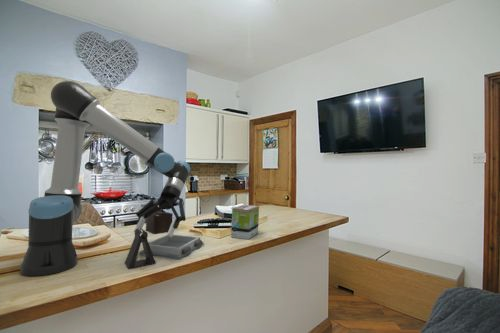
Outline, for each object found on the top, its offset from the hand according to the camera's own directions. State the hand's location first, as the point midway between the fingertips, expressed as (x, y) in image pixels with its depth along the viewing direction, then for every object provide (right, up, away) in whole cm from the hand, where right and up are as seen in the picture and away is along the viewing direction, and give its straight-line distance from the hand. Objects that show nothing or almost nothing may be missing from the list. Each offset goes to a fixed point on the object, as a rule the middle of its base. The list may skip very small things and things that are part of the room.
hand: (152, 234), depth 96 cm
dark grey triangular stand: (-2, -9, -5) cm, 11 cm away
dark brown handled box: (-11, -9, +44) cm, 46 cm away
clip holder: (+4, -9, +12) cm, 16 cm away
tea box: (+34, -10, +37) cm, 51 cm away
